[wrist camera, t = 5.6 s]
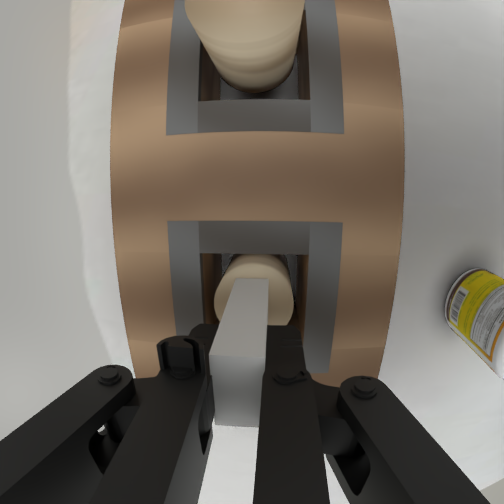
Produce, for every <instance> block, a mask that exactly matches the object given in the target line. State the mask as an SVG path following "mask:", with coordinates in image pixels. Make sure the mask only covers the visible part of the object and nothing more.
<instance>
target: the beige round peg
mask: <svg viewBox="0 0 504 504" xmlns="http://www.w3.org/2000/svg"><path fill="white" fill-rule="evenodd" d="M304 3H305V0H185V11H186V14H187V17H188V19H189V20H190V22H191V24H192V26H193V27H194V29H195V31H196V33H197V34H198V36H199V38H200V40H201V42H202V43H203V45H204V47H205V49H206V50H207V52H208V54H209V56H210V58H211V60H212V61H213V63H214V65H215V67H216V69H217V71H218V72H219V74H220V76H221V78H222V79H223V80H224V81H225V82H226V83H227V84H228V85H230V86H231V87H233V88H235V89H237V90H239V91H243V92H248V93H261V92H266V91H269V90H272V89H274V88H276V87H278V86H279V85H281V84H282V83H283V82H284V81H285V80H286V79H287V78H288V76H289V75H290V73H291V71H292V68H293V64H294V59H295V53H296V48H297V42H298V36H299V31H300V25H301V20H302V14H303V8H304Z"/></svg>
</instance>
